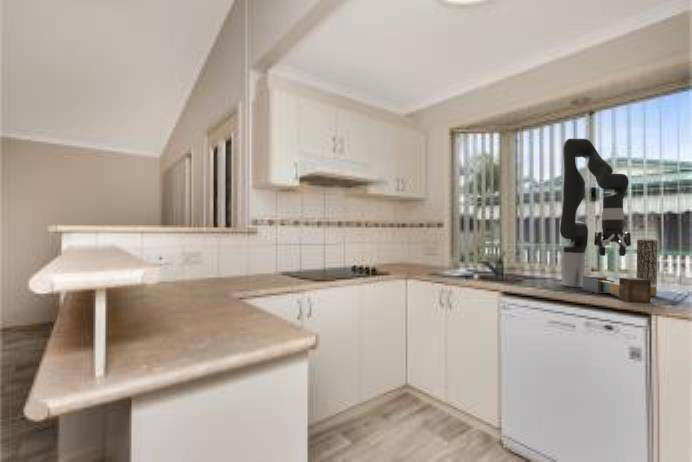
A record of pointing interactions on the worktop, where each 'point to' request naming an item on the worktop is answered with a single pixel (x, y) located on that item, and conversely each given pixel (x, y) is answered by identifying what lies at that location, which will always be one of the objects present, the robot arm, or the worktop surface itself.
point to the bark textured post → (647, 262)
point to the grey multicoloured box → (593, 283)
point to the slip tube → (609, 287)
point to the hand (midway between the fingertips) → (612, 255)
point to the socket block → (634, 289)
